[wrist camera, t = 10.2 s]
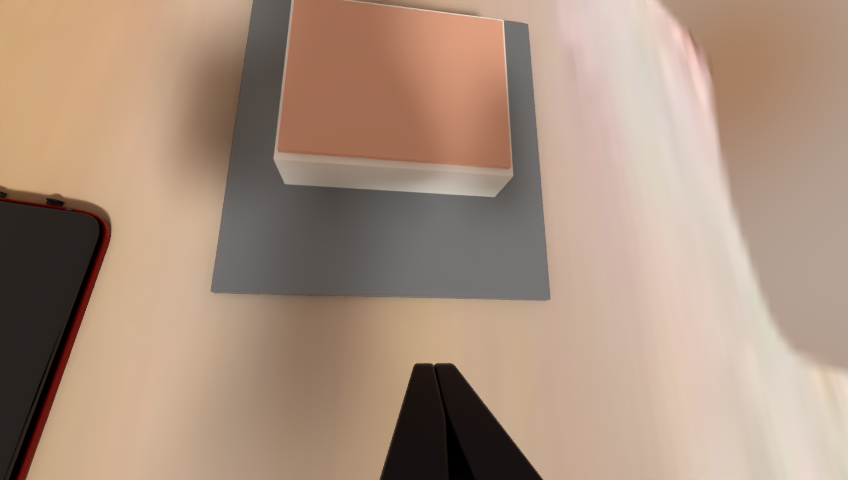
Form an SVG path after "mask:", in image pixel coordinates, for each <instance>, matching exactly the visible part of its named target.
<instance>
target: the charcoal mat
mask: <svg viewBox="0 0 848 480" xmlns="http://www.w3.org/2000/svg"><path fill="white" fill-rule="evenodd" d="M291 1H292V0H253V5H252V12H251V19H250V26H249V33H248V40H247V46H246V53H245V60H244V67H243V74H242V81H241V88H240V94H239V101H238V108H237V115H236V122H235V129H234V135H233V142H232V149H231V156H230V163H229V170H228V177H227V183H226V190H225V197H224V204H223V211H222V218H221V225H220V231H219V238H218V245H217V252H216V259H215V266H214V272H213V279H212V286H211V292H213V293H233V294H277V295H322V296H366V297H411V298H455V299H500V300H544V301H546V300H550V288H549V276H548V263H547V251H546V239H545V226H544V214H543V202H542V190H541V177H540V165H539V153H538V140H537V128H536V116H535V104H534V91H533V79H532V67H531V54H530V42H529V30H528V24H524V23H517V22H509V21H504V34H505V51H506V67H507V83H508V99H509V116H510V132H511V148H512V164H513V177H512V178H511V179H510V180H509V182H508V183H507V184H506V185H505V186H504V187H503V188H502V189H501V191H500V192H499V193H498V194H497V195H496V196H495V197H484V196H468V195H452V194H436V193H420V192H403V191H387V190H371V189H355V188H339V187H323V186H306V185H290V184H284V181H283V179H282V177H281V175H280V173H279V170H278V168H277V166H276V164H275V162H274V150H275V142H276V133H277V124H278V115H279V107H280V98H281V89H282V80H283V71H284V63H285V54H286V45H287V36H288V28H289V19H290V10H291Z"/></svg>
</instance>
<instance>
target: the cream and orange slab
mask: <svg viewBox="0 0 848 480" xmlns="http://www.w3.org/2000/svg"><path fill="white" fill-rule="evenodd" d="M274 162H275V164H276V166H277V168H278V170H279V173H280V175H281V177H282V179H283V181H284V184H290V185H306V186H323V187H339V188H355V189H371V190H387V191H403V192H420V193H436V194H452V195H468V196H484V197H495V196H496V195H497V194H498V193H499V192H500V191H501V189H502V188H503V187H504V186H505V185H506V184H507V183H508V182H509V180H510V179H511V178H512V177H513V164H512V148H511V132H510V116H509V99H508V83H507V67H506V51H505V34H504V20H501V19H493V18H485V17H478V16H470V15H462V14H455V13H447V12H439V11H432V10H424V9H416V8H409V7H401V6H393V5H386V4H378V3H370V2H363V1H355V0H292V1H291V10H290V19H289V28H288V36H287V45H286V54H285V63H284V71H283V80H282V89H281V98H280V107H279V115H278V124H277V133H276V142H275V150H274Z"/></svg>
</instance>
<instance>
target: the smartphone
mask: <svg viewBox="0 0 848 480" xmlns="http://www.w3.org/2000/svg"><path fill="white" fill-rule="evenodd" d="M5 196H6V193H3V192H0V480H25V479H26V476H27V473H28V471H29V468H30V465H31V462H32V460H33V457H34V454H35V451H36V449H37V446H38V443H39V440H40V438H41V435H42V432H43V429H44V426H45V424H46V421H47V418H48V415H49V412H50V410H51V407H52V404H53V401H54V398H55V395H56V393H57V390H58V387H59V384H60V381H61V379H62V376H63V373H64V370H65V367H66V364H67V362H68V359H69V356H70V353H71V350H72V347H73V345H74V342H75V339H76V336H77V333H78V330H79V328H80V325H81V322H82V319H83V316H84V313H85V311H86V308H87V305H88V302H89V299H90V297H91V294H92V291H93V288H94V285H95V282H96V279H97V277H98V274H99V271H100V268H101V265H102V262H103V260H104V257H105V254H106V251H107V248H108V245H109V242H110V238H111V228H110V225H109V224H108V222H107V221H106V220H104V219H103V218H101V217H99V216H97V215H95V214H93V213H90V212H87V211H83V210H78V209H71V208H65V207H62V206H63V204H64V202H62V201H58V200H55V199H49V198H47V199H46V200H47V202H46V205H45V204H38V203H32V202H25V201H18V200H12V199H5Z"/></svg>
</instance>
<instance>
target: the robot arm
mask: <svg viewBox="0 0 848 480" xmlns="http://www.w3.org/2000/svg"><path fill="white" fill-rule="evenodd" d="M380 480H543V479H542V478H541V476H540V475H539V474H538V472H537V471H536V470H535V468H534V467H533V466H532V465H531V463H530V462H529V461H528V459H527V458H526V457H525V456H524V454H523V453H522V452H521V450H520V449H519V448H518V446H517V445H516V444H515V443H514V441H513V440H512V439H511V437H510V436H509V435H508V434H507V432H506V431H505V430H504V428H503V427H502V426H501V425H500V423H499V422H498V421H497V419H496V418H495V417H494V415H493V414H492V413H491V412H490V410H489V409H488V408H487V406H486V405H485V404H484V403H483V401H482V400H481V399H480V397H479V396H478V395H477V394H476V392H475V391H474V390H473V388H472V387H471V386H470V384H469V383H468V382H467V381H466V379H465V378H464V377H463V375H462V374H461V373H460V372H459V370H458V369H457V368H456V366H455V365H453V364H451V363H437V364H435V365H434V366H433V364H431V363H417V364H415V365H414V367H413V370H412V373H411V377H410V380H409V383H408V387H407V390H406V393H405V397H404V400H403V403H402V407H401V410H400V413H399V417H398V420H397V423H396V427H395V430H394V433H393V437H392V440H391V443H390V447H389V450H388V453H387V457H386V460H385V463H384V466H383V470H382V473H381V476H380Z"/></svg>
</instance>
